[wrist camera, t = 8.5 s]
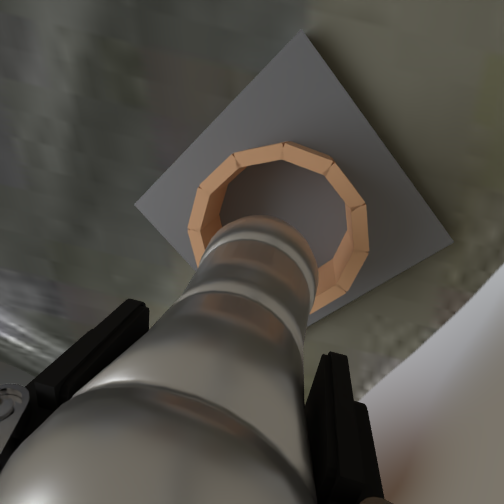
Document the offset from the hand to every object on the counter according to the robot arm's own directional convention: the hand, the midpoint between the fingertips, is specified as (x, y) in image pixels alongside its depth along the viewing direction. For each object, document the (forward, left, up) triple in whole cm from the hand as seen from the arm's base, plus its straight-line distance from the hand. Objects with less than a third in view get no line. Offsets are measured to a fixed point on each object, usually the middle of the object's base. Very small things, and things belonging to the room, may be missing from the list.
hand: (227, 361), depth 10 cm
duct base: (0, 0, -19) cm, 19 cm away
